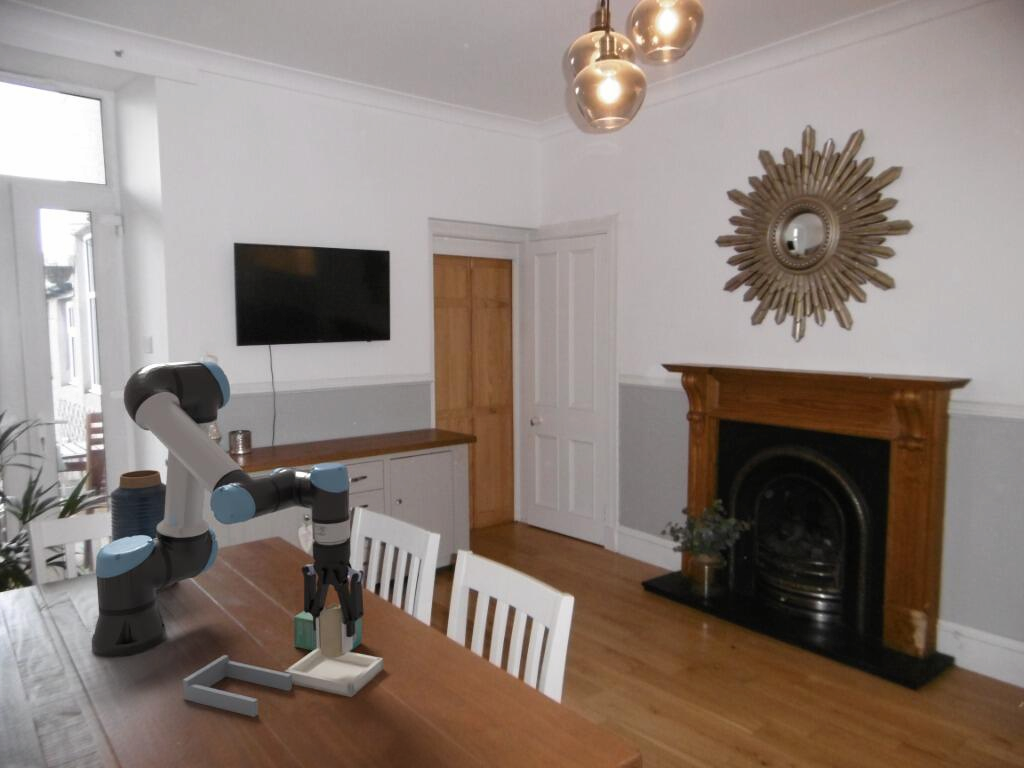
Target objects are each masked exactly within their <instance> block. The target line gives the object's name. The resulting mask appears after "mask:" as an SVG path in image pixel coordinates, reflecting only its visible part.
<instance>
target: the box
mask: <svg viewBox="0 0 1024 768" xmlns="http://www.w3.org/2000/svg"><path fill="white" fill-rule="evenodd" d="M362 617H363V616H362ZM362 617H361V618H360V619H358V620H357V621H355V635H353V636H352V640H353V648H352V649H351V650H350V651H348V652H352V651H353V650H355V648H357V647H358V646H359V645H361V643H362V637H363V621H362ZM294 647H295V648H299V649H303V650H310V651H313V650H315V649H316V648H317V642H316V631H314V629H313V616H312V615H311V614H310V613H309V612H308V613H306V612H305V611H304V610H303V611H302V612H300V613H298V614H296V615H295V616H294Z"/></svg>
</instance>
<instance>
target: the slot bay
mask: <svg viewBox="0 0 1024 768" xmlns="http://www.w3.org/2000/svg"><path fill="white" fill-rule="evenodd" d="M229 659H230V658H229V655H226V654H223V655H222V656H219V657H218V658H216V659H215V660H213V661H212V662H210V663H208V664H207V665H205V666H204V667H201V668H200V669H199V670H197V671H196V672H193V673H192V674H190V675H189V676H187V677H185V678H184V679H183V680H182V689H183V690H182V691H183V700H186V701H190V702H194V703H197V704H201V705H205V706H209V707H213V708H218V709H220V710H224V711H229V712H233V713H238V714H241V715H244V716H245V715H246V716H249V717H252V718H256V716H258V715H259V704H258V703H259V702H258V698H255V697H250V696H246V695H242V694H237V693H234V692H229V691H225V690H220V689H217V688H214V687H213V688H212V687H211V686H213V685H215V684H217V683H218V682H219V681H221V680H223V679H224V678H226V677H227V678H230V679H236V680H240V681H244V682H249V683H253V684H257V685H261V686H265V687H270V688H275V689H280V690H283V691H287V692H290V691H291V690H292V689H293V684H292V674H288V673H284V671H283V672H282V671H278V670H273V669H270V668H265V667H260V666H255V665H251V664H247V663H241V662H237V661H233V660H229Z"/></svg>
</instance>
